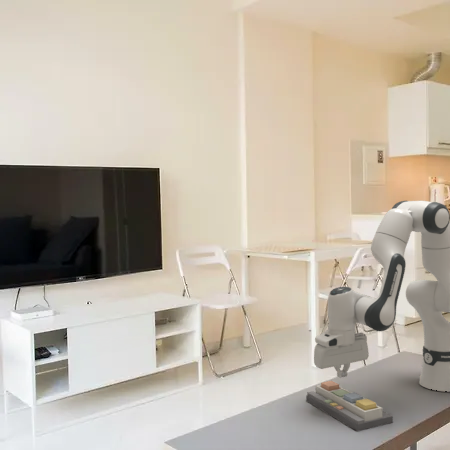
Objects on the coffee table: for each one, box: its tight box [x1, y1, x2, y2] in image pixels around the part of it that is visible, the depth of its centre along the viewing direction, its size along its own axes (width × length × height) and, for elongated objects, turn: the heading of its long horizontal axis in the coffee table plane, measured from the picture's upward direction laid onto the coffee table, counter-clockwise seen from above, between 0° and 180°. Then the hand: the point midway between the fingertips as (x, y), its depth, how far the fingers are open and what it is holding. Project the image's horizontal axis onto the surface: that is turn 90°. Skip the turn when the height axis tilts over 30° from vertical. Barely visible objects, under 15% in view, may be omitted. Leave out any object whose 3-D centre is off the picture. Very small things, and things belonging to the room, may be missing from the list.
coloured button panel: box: [305, 384, 394, 432], centre depth 178 cm, size 14×27×5 cm, turn 26°
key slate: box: [344, 391, 364, 404], centre depth 175 cm, size 4×4×2 cm
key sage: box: [332, 390, 348, 397], centre depth 181 cm, size 4×4×2 cm
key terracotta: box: [320, 380, 340, 391], centre depth 186 cm, size 4×4×2 cm
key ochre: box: [356, 398, 377, 411], centre depth 170 cm, size 4×4×2 cm
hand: (342, 376), depth 181 cm, fingers closed
